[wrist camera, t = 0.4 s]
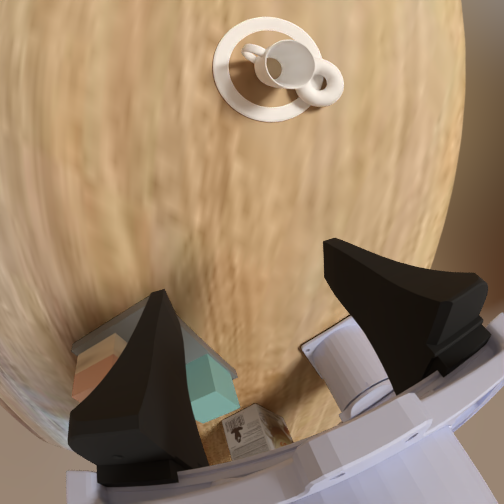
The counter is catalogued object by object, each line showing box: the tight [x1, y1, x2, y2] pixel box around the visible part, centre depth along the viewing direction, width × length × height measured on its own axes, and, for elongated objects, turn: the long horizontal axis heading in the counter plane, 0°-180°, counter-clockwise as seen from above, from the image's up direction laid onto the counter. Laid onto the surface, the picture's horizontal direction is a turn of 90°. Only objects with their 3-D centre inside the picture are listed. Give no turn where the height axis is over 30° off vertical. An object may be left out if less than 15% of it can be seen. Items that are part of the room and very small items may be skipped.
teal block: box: [186, 354, 240, 423], centre depth 26 cm, size 4×4×4 cm
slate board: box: [71, 296, 238, 380], centre depth 27 cm, size 14×11×1 cm
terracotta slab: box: [72, 354, 118, 402], centre depth 21 cm, size 6×6×2 cm
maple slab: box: [75, 333, 127, 375], centre depth 23 cm, size 6×6×2 cm
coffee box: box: [222, 404, 294, 461], centre depth 32 cm, size 9×6×16 cm
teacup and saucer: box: [213, 17, 344, 122], centre depth 16 cm, size 9×8×4 cm
